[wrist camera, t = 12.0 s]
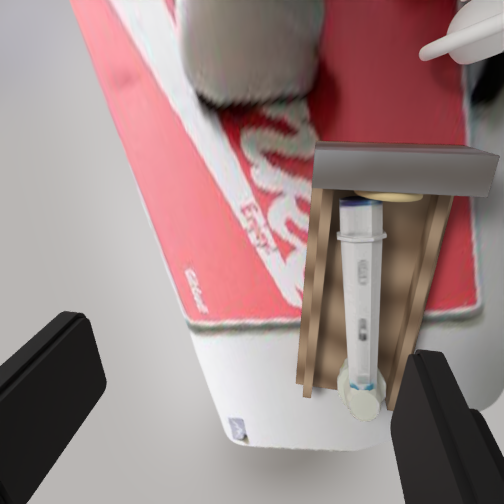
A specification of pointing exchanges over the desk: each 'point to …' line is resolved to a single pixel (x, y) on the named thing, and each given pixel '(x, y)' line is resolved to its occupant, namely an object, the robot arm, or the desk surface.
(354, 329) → the toothbrush head
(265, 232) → the desk surface
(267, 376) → the desk surface
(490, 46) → the ring around a ball
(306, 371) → the fitting board
